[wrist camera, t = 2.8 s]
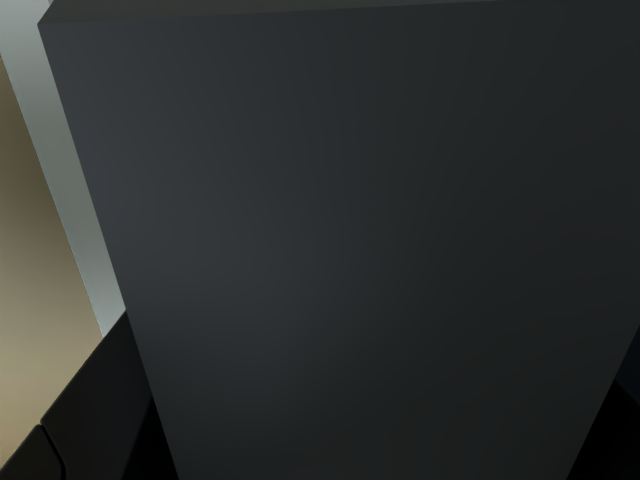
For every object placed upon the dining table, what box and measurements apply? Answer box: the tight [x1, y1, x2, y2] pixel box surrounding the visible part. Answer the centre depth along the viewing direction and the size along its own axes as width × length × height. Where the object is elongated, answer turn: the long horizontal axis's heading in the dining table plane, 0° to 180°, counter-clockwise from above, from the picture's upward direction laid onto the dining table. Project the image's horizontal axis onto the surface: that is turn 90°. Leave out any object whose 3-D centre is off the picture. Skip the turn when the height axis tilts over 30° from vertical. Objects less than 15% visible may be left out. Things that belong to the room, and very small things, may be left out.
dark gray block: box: [37, 0, 640, 480], centre depth 8 cm, size 10×4×6 cm, turn 1°
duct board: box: [0, 0, 126, 338], centre depth 10 cm, size 18×18×3 cm
